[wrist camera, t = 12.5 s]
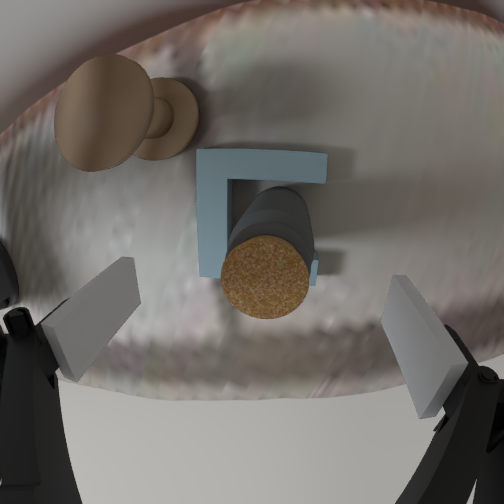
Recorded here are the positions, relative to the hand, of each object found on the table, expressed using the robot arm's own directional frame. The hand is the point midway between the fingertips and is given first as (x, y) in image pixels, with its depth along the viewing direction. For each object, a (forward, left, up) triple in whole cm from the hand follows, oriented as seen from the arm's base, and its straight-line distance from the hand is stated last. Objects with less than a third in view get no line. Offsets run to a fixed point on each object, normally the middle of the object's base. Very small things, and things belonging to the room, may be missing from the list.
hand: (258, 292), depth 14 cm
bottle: (0, 0, -17) cm, 17 cm away
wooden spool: (-13, +10, -16) cm, 23 cm away
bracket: (-2, 0, -16) cm, 16 cm away
